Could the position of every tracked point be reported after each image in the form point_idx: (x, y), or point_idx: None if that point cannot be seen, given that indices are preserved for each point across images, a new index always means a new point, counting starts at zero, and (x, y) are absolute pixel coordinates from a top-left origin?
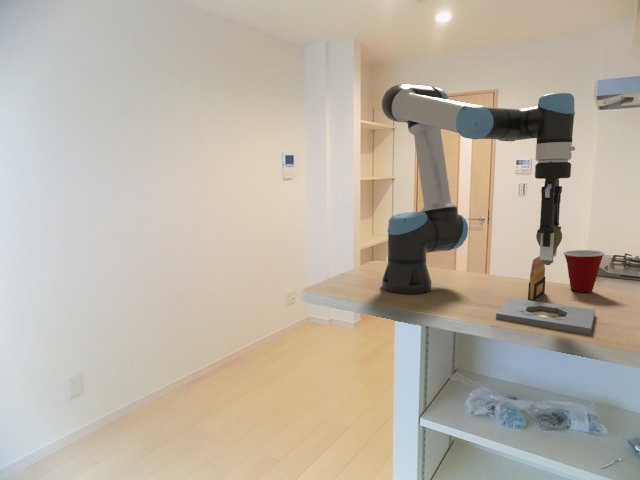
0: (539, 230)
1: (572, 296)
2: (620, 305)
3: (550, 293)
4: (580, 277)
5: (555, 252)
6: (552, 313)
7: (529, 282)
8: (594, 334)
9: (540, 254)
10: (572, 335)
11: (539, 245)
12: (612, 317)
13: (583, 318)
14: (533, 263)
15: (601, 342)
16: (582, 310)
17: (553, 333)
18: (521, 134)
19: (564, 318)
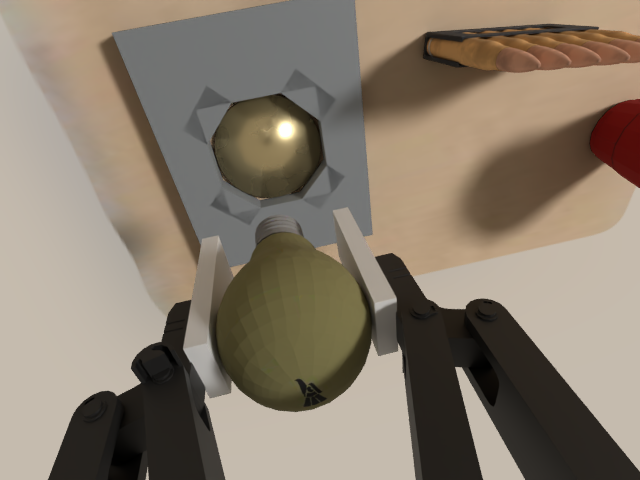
0: (139, 372)
1: (531, 133)
2: (485, 239)
3: None
4: (624, 150)
5: (343, 265)
6: (308, 155)
7: (465, 38)
8: None
9: (199, 257)
10: (177, 240)
11: (260, 253)
12: (376, 253)
13: None
14: (514, 62)
15: (184, 286)
16: None
17: (151, 208)
18: None
19: (241, 211)
